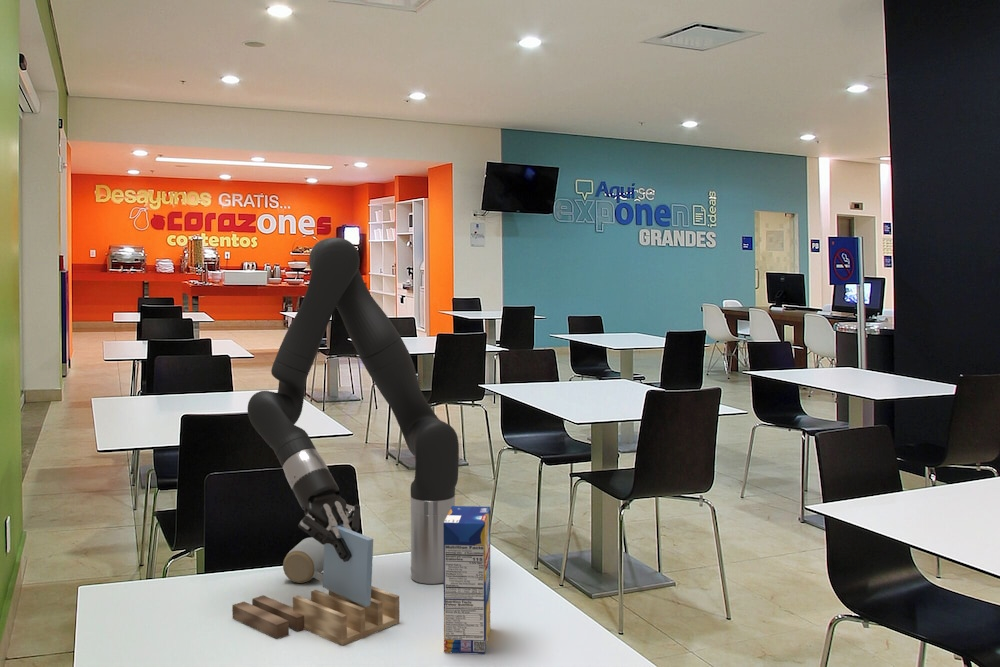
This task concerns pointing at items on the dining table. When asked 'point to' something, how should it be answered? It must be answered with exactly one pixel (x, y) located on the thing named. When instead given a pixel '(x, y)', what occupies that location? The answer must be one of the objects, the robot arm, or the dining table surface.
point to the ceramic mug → (305, 561)
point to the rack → (347, 615)
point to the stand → (268, 616)
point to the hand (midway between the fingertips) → (352, 557)
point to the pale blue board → (350, 568)
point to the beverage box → (466, 579)
